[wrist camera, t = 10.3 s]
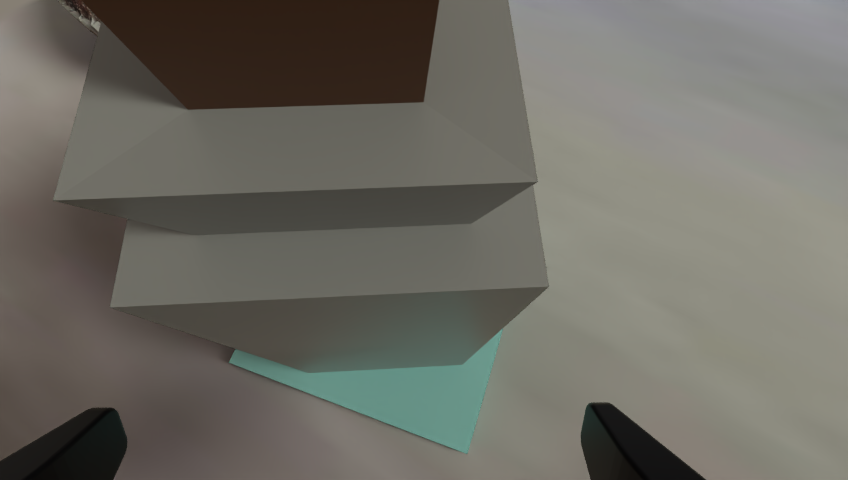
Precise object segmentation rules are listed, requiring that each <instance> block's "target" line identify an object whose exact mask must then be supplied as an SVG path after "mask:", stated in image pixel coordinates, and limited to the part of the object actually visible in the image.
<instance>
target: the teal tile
mask: <svg viewBox="0 0 848 480" xmlns="http://www.w3.org/2000/svg"><path fill="white" fill-rule="evenodd" d="M502 331H503V329H501V330H500V331H499V332H498V333H497V334H496V335H495V336H494V337H493V338H492V339H490V340H489V341H488V342H487V343H486V344H485V345H484V346H483V347H482V348H480V349H479V350H478V351H477V352H476V353H475V354H474V355H473V356H472V357H470V358H469V359H468V360H467V361H466V362H465V363H464V364H463V365H450V366H431V367H413V368H394V369H376V370H357V371H339V372H320V373H307V372H304V371H301V370H298V369H295V368H292V367H289V366H286V365H283V364H280V363H277V362H274V361H271V360H268V359H265V358H262V357H258V356H255V355H252V354H249V353H246V352H243V351H240V350H237V349H235V351H234V353H233V355H232V357H231V359H230V361H229V363H231V364H234V365H236V366H239V367H242V368H244V369H247V370H249V371H252V372H255V373H257V374H260V375H262V376H265V377H268V378H270V379H273V380H275V381H278V382H281V383H283V384H286V385H288V386H291V387H294V388H296V389H299V390H301V391H304V392H307V393H309V394H312V395H315V396H317V397H320V398H322V399H325V400H328V401H330V402H333V403H335V404H338V405H341V406H343V407H346V408H348V409H351V410H354V411H356V412H359V413H361V414H364V415H367V416H369V417H372V418H374V419H377V420H380V421H382V422H385V423H388V424H390V425H393V426H395V427H398V428H401V429H403V430H406V431H408V432H411V433H414V434H416V435H419V436H421V437H424V438H427V439H429V440H432V441H434V442H437V443H440V444H442V445H445V446H447V447H450V448H453V449H455V450H458V451H461V452H463V453H466V454H467V453H468V450H469V446H470V443H471V439H472V436H473V432H474V429H475V425H476V422H477V418H478V415H479V411H480V408H481V404H482V401H483V397H484V394H485V390H486V387H487V383H488V380H489V376H490V373H491V369H492V366H493V362H494V359H495V355H496V352H497V348H498V345H499V341H500V338H501V334H502Z"/></svg>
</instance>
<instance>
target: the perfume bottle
mask: <svg viewBox="0 0 848 480" xmlns="http://www.w3.org/2000/svg"><path fill="white" fill-rule="evenodd" d="M81 1H82V2H83V3H84V4H85V5H86V6H87V7H88V8H89V9H90V10H91V11H92V12H93V13H94V14H95V15H96V16H97V17H98V18H99V19H100V20H101V25H100V28H99V32H98V36H97V39H96V43H95V47H94V50H93V54H92V58H91V62H90V65H89V69H88V73H87V76H86V80H85V84H84V87H83V91H82V95H81V99H80V102H79V106H78V110H77V113H76V117H75V121H74V124H73V128H72V132H71V136H70V139H69V143H68V147H67V150H66V154H65V158H64V162H63V165H62V169H61V173H60V176H59V180H58V184H57V187H56V191H55V195H54V199H53V201H57V202H61V203H65V204H69V205H73V206H78V207H82V208H86V209H90V210H94V211H98V212H102V213H106V214H110V215H114V216H118V217H122V218H126V219H127V224H126V229H125V234H124V239H123V244H122V249H121V254H120V259H119V264H118V269H117V274H116V279H115V284H114V289H113V294H112V299H111V304H110V308H113V309H116V310H119V311H122V312H125V313H128V314H131V315H134V316H137V317H140V318H143V319H146V320H149V321H152V322H155V323H158V324H161V325H165V326H168V327H171V328H174V329H177V330H180V331H183V332H186V333H189V334H192V335H195V336H198V337H201V338H204V339H207V340H210V341H213V342H216V343H219V344H222V345H225V346H228V347H231V348H234V349H237V350H240V351H243V352H246V353H249V354H252V355H255V356H258V357H262V358H265V359H268V360H271V361H274V362H277V363H280V364H283V365H286V366H289V367H292V368H295V369H298V370H301V371H304V372H307V373H320V372H339V371H357V370H376V369H394V368H413V367H431V366H450V365H463V364H464V363H465V362H466V361H467V360H468V359H469V358H470V357H472V356H473V355H474V354H475V353H476V352H477V351H478V350H479V349H480V348H482V347H483V346H484V345H485V344H486V343H487V342H488V341H489V340H490V339H492V338H493V337H494V336H495V335H496V334H497V333H498V332H499V331H500V330H501V329H503V328H504V327H505V326H506V325H507V324H508V323H509V322H510V321H511V320H513V319H514V318H515V317H516V316H517V315H518V314H519V313H520V312H521V311H522V310H524V309H525V308H526V307H527V306H528V305H529V304H530V303H531V302H532V301H534V300H535V299H536V298H537V297H538V296H539V295H540V294H541V293H542V292H544V291H545V290H546V289H547V288H548V287H549V283H548V277H547V270H546V264H545V258H544V251H543V245H542V239H541V233H540V226H539V220H538V214H537V207H536V201H535V195H534V188H533V184H535V183H537V182H538V181H537V175H536V169H535V162H534V156H533V150H532V144H531V138H530V132H529V126H528V119H527V113H526V107H525V101H524V95H523V89H522V83H521V77H520V70H519V64H518V58H517V52H516V46H515V40H514V34H513V28H512V21H511V15H510V9H509V3H508V0H81Z"/></svg>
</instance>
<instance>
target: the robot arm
mask: <svg viewBox="0 0 848 480" xmlns="http://www.w3.org/2000/svg"><path fill="white" fill-rule="evenodd" d="M581 445H582V449H583V453H584V457H585V460H586V464H587V468H588V471H589V475H590V479H591V480H706V479H705V478H703V477H702V476H701V475H700V474H698V473H697V472H696V471H695V470H693V469H692V468H691V467H690V466H688V465H687V464H686V463H685V462H683V461H682V460H681V459H680V458H678V457H677V456H676V455H675V454H673V453H672V452H671V451H670V450H668V449H667V448H666V447H665V446H663V445H662V444H661V443H660V442H658V441H657V440H656V439H655V438H653V437H652V436H651V435H650V434H648V433H647V432H646V431H645V430H643V429H642V428H641V427H640V426H639V425H637V424H636V423H635V422H634V421H632V420H631V419H630V418H629V417H627V416H626V415H625V414H624V413H622V412H621V411H620V410H619V409H617V408H616V407H615V406H614V405H612V404H610V403H607V402H600V403H589V404H588V405H587V407H586V410H585V415H584V420H583V425H582V430H581ZM126 449H127V436H126V434H125V431H124V428H123V425H122V422H121V419H120V417H119V414H118V412H117V411H116V410H115V409H114V408H91V409H88V410H86V411H84V412H83V413H81V414H79V415H78V416H76V417H74V418H72V419H71V420H69V421H67V422H66V423H64V424H62V425H61V426H59V427H57V428H56V429H54V430H52V431H50V432H49V433H47V434H45V435H44V436H42V437H40V438H39V439H37V440H35V441H34V442H32V443H30V444H28V445H27V446H25V447H23V448H22V449H20V450H18V451H17V452H15V453H13V454H11V455H10V456H8V457H6V458H5V459H3V460H1V461H0V480H113V479H114V477H115V475H116V472H117V470H118V468H119V466H120V464H121V462H122V459H123V457H124V455H125V452H126Z"/></svg>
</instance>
